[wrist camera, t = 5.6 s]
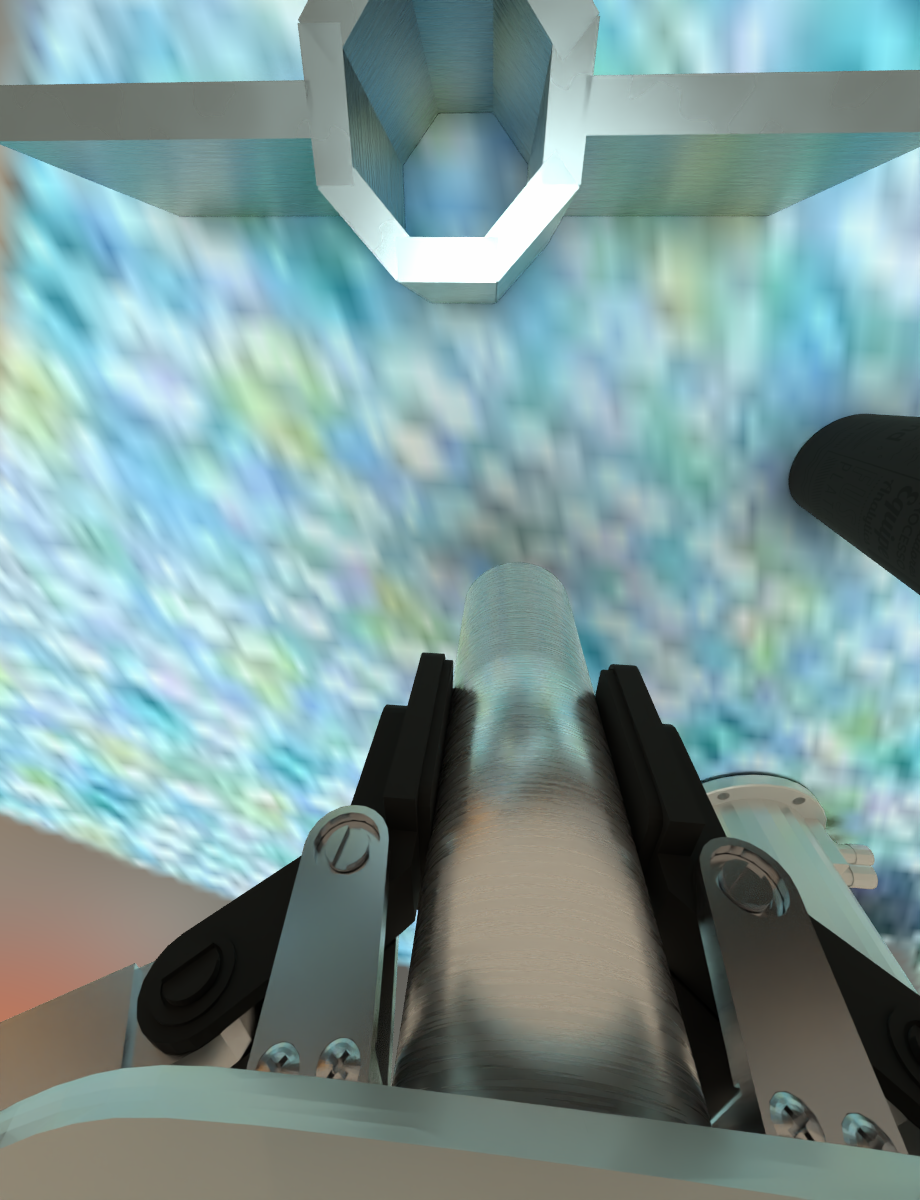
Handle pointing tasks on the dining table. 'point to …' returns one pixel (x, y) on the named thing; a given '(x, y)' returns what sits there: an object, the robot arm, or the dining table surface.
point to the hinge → (468, 84)
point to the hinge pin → (537, 888)
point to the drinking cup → (866, 487)
